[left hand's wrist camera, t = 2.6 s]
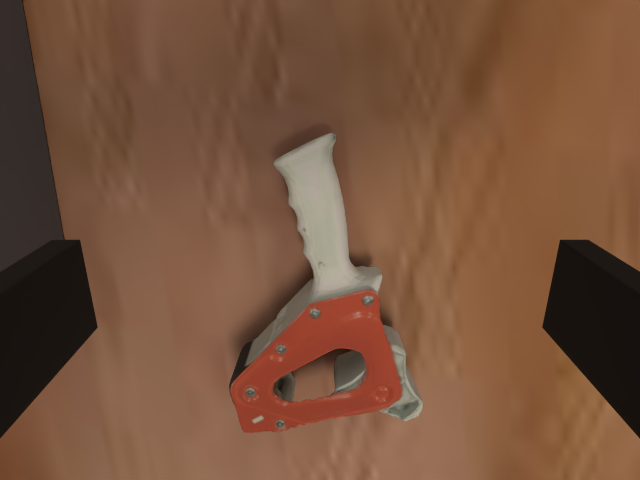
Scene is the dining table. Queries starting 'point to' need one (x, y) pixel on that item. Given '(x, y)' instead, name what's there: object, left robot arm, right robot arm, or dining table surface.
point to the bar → (22, 147)
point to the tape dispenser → (323, 319)
